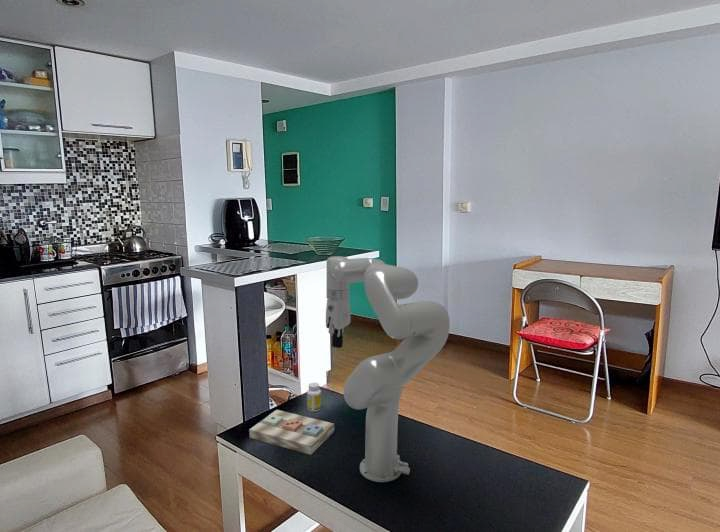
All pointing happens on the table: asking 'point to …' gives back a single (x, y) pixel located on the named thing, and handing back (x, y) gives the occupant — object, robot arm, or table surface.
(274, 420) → the key one dot
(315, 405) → the supplement bottle
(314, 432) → the key two dots
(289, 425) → the key three dots
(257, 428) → the key panel
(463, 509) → the table surface
